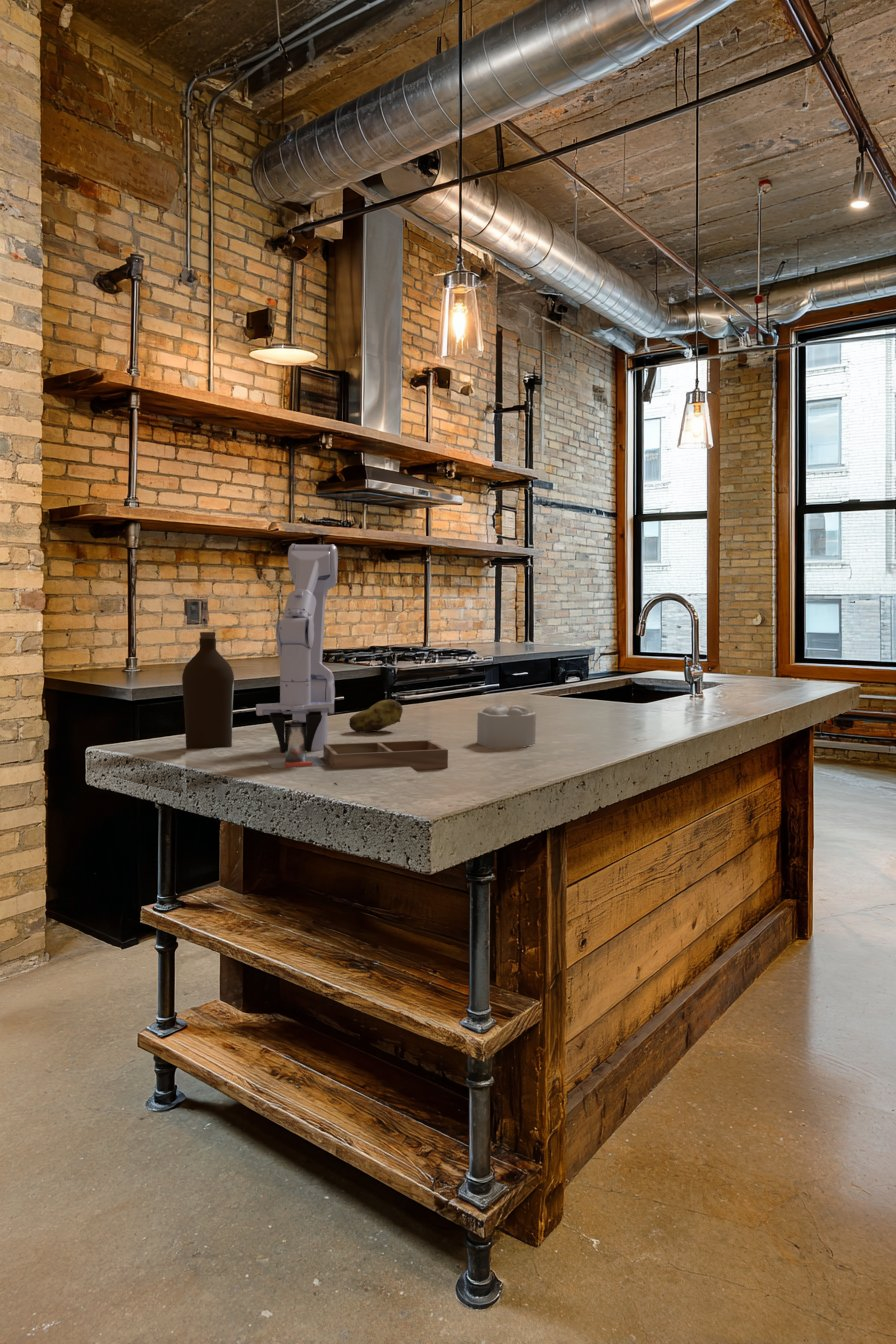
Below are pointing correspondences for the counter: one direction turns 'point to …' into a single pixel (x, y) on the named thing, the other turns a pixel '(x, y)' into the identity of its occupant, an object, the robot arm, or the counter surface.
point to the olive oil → (208, 697)
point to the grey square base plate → (281, 762)
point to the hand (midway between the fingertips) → (295, 751)
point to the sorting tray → (387, 754)
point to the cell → (295, 741)
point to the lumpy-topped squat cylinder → (506, 727)
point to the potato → (377, 716)
